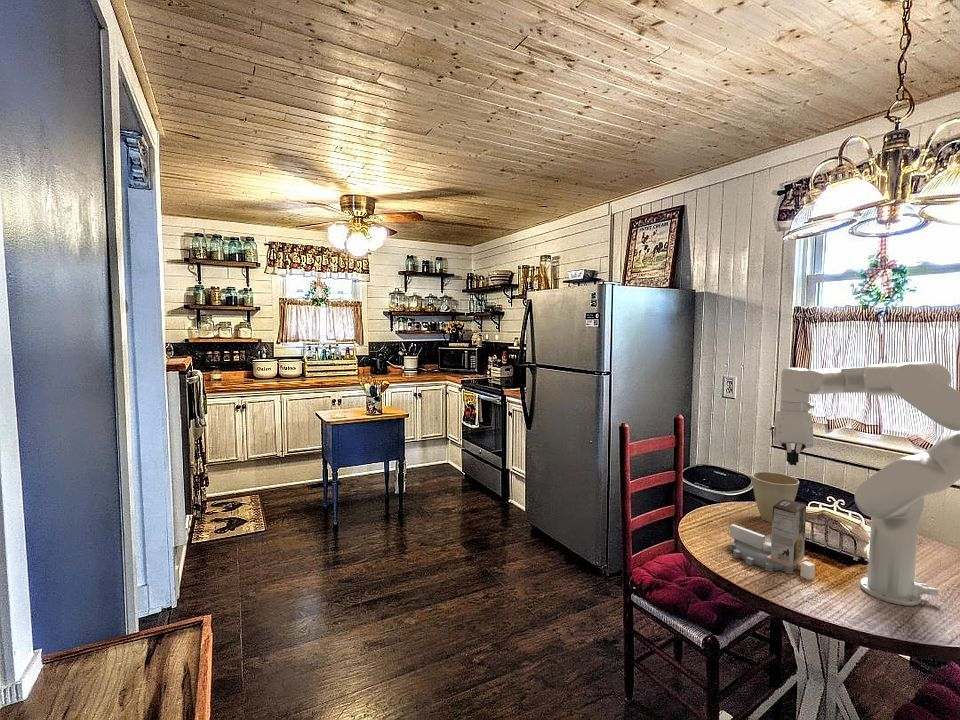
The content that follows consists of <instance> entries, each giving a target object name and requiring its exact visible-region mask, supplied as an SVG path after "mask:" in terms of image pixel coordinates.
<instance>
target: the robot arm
mask: <svg viewBox="0 0 960 720" xmlns="http://www.w3.org/2000/svg"><path fill="white" fill-rule="evenodd" d="M780 381H781V383H780V385H781V386H780V409H777V410H776V414H775V419H774V427H773V437H774V439H773V442H772V443H773V445H775V446H777V447H779V446H780V447H782V448H783V449H784V450H785V451H786V458H785V459H786V460H785V461H786V462H787V463H788V464H789V465H790V466H795V467H796V466H797V463H799V459H800V458H799V456H800V455H799V454H800V453H801V452H802V451H803V450H805V449H810V448H813V447H814V443H813V442H814V425H813V424H814V423H813V417H812V412H811V411H810V409H815V404H813V403H810V395H826V394H828V395H829V394H840V393H841V394H842V393H844V394H846V393H850V394H851V393H854V394H855V393H860V394H861V393H864V394H865V393H866V394H867V393H868V394H869V395H870V396H883V397H884V396H899V397H900V398H902V400H904V401H905V402H906V403H908V404H909V405H911V406H912V407H913V408H915V409H916V410H918V411H919V412H921V413H922V414H923V415H925V416H926V417H927V418H929V419H930V420H931V421H933V422H935V424H938V425H939V426H941V427H943V428H945V429H947V430H951V431H953V432H952V433H950V434H948V435H947V436H945V437H943V438H942V439H940V440H939V441H938V442H937V443H936V444H934V445H933V446H931V447H929V448H928V449H926V450H924V451H923V452H920V453H917V454H912V455H907V456H904V457H899V458H897V459H895V460H892V461H891V462H890V463H888V464H886V465H885V466H884V467H883V468H881V469H880V470H878V471H876V472H875V473H874V474H872V475H871V476H870V477H868V478H867V479H866V480H865V481H863V482H862V483H860V484H859V486H858V487H857V488H856V490H855V493H854V502H855V505H856V507H857V509H858V510H859V511H860V512H861V513H862V514H864V515H865V516H866V517H870V518H871V525H870V535H869V536H870V537H869V551H868V568H867V577H862V578H861V579H860V582H859V585H860V588H861V589H862V590H863V591H864V592H866V593H867V594H869V595H871V597H872V596H873V597H874V598H876V599H878V600H881V601H884V602H887V603H891V604H894V605H895V604H896V605H900V606H909V607H910V606H918V605H920V604H921V603H922V595H924V594H925V595H928V596H931V597H932V596H934V597H938V596H939V591H938V589H937V588H936V587H931V586H930V587H929V586H928V585H927V583H924V582H923V583H922V582H917V581H916V580H915V578H916V577H915V576H916V564H917V562H916V561H917V550H918V549H917V548H918V547H917V546H918V540H919V539H918V538H919V530H920V529H919V527H920V524H921V523H920V522H921V518H922V515H923V511H924V506H925V497H926V496H928V495H933V494H937V493H940V492H942V491H945V490H947V489H949V488H950V487H951V486H952V485H954V484H955V483H956V482H958V481H959V480H960V391H958V390H957V389H955V388H954V387H952V386H950V385H951V381H952V376H951V373H950V371H949V370H948V369H947V368H946V367H945V366H944V365H942V364H941V363H938V362H932V361H916V362H915V361H914V362H898V363H897V362H896V363H880V364H879V363H878V364H877V363H876V364H867V366H860V367H859V366H858V367H857V366H856V367H840V368H837V367H832V368H817V369H815V368H814V369H813V368H812V369H807V368H804V367H786V368H783V369H782V371H781V380H780ZM792 444H794V448H793V450H792Z"/></svg>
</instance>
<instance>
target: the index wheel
mask: <svg viewBox="0 0 960 720" xmlns="http://www.w3.org/2000/svg"><path fill="white" fill-rule="evenodd" d="M729 528H730V529H729V538H732V539H734V542H730V543H729V545H730V546H729V549H730V550H731V551H732V552H733V553H732V555H733V556H734V557H735V558H741V559H743V560H744V561H745V564H747V565H750V566H758V567H761V568H765V571H770V572H774V571H775V570H776V571H783V572H785V573H787V574H794V571H796V570H799V571H801V562H804V561H808V562H810V559H809V557H807V556H804V557H802V558H801V559H800V560H799V561H798V562H797V563H796V564H795V565H790V564H787V563H784V562H781V561H778V560H775V559H772V558H771V539H772V538H769V537H766V535H764V534H761V533H759V532H756V531H753V530H751V529H749V528H745V527H743V526H740V525H737V524H734V523H732V524H730V527H729Z"/></svg>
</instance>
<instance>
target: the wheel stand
mask: <svg viewBox="0 0 960 720" xmlns="http://www.w3.org/2000/svg"><path fill="white" fill-rule="evenodd" d="M815 572H816V564H814V563H812V562H810V561H809V562H808V561H804V562H801V570H800V573H799V574H800V577H802V578H804V579H806V580H808V581H809V580H812V579H815Z"/></svg>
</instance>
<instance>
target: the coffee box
mask: <svg viewBox="0 0 960 720" xmlns="http://www.w3.org/2000/svg"><path fill="white" fill-rule="evenodd" d="M806 518H807V504H804V503H801V502H798V501H795V500H794V501H790V500H786V499H783V500H781V501H780V502H778V503H777V504H775V505H774V506H773V518H772V523H771V538H770V539H771V558H772V559H775V560H778V561H781V562H784V563H787V564H790V565H795V564H796V563H797V562H798V561H799V560H800V559H801V558H802V557H805V542H806V541H805V540H806V539H805V538H806V522H807V521H806V520H807V519H806Z"/></svg>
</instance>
